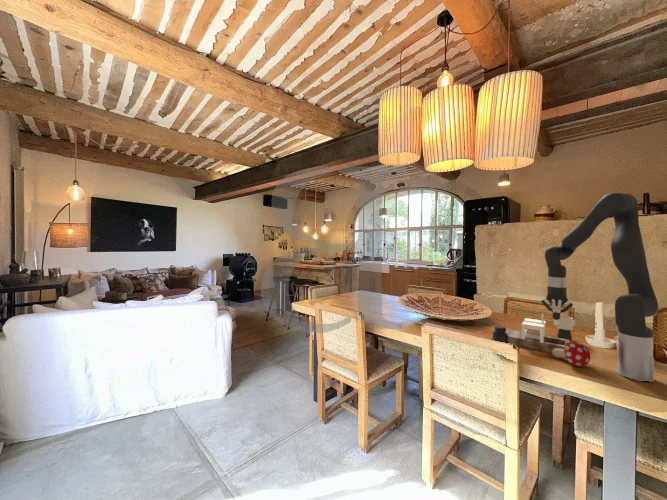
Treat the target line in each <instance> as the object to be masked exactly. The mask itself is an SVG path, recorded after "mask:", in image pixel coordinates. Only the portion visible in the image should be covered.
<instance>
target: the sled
mask: <svg viewBox="0 0 667 500" xmlns="http://www.w3.org/2000/svg"><path fill="white" fill-rule="evenodd" d="M544 316H545V315H544V313H541V320H542V324H544V321H545V320H544ZM525 337H526V338H532V339H537V340H540V336H538V335H533V334H527V330H525Z"/></svg>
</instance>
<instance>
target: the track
mask: <svg viewBox="0 0 667 500" xmlns="http://www.w3.org/2000/svg"><path fill="white" fill-rule="evenodd" d="M506 333H507V334H508V343H514V344H516V345H515V346H518V347H523V348H527V349H532V350H538V351H543V352H546V353H551V354H552V350H553V349H554V348H559V349H564V347H565V344H566V343H567V342H568V341H569V340H567V339H562V338H557V337H554V336H549V335H546V336H544V343H541V342H540V340H537V339H532V338H526V337H525V339H522V330H514V329H508V328H506Z"/></svg>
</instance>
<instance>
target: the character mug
mask: <svg viewBox="0 0 667 500" xmlns="http://www.w3.org/2000/svg"><path fill="white" fill-rule="evenodd" d="M553 326H554V327H557V329H558V330H557V335H556V336H557V337H556V338H562V339H567V340H569V341H573V336H572V332H571V330H572V331H573V329H574V327H576V320H574V317H571V316H568V315H561V314H560V319H558V320H555V319H553Z"/></svg>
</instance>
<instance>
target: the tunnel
mask: <svg viewBox="0 0 667 500" xmlns="http://www.w3.org/2000/svg"><path fill="white" fill-rule="evenodd" d="M546 324H547V322H546V320H544V324H542V319H541V320H540V319H535V318H534V319H533V318H527V317H525V318H524V320H523V321H522V323H521V332H522V339H525V330H527V328H528V327H534V328H540V342H541V343H544V336H547V335H546V334H547V333H546V330H547V329H546V326H547V325H546Z"/></svg>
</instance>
